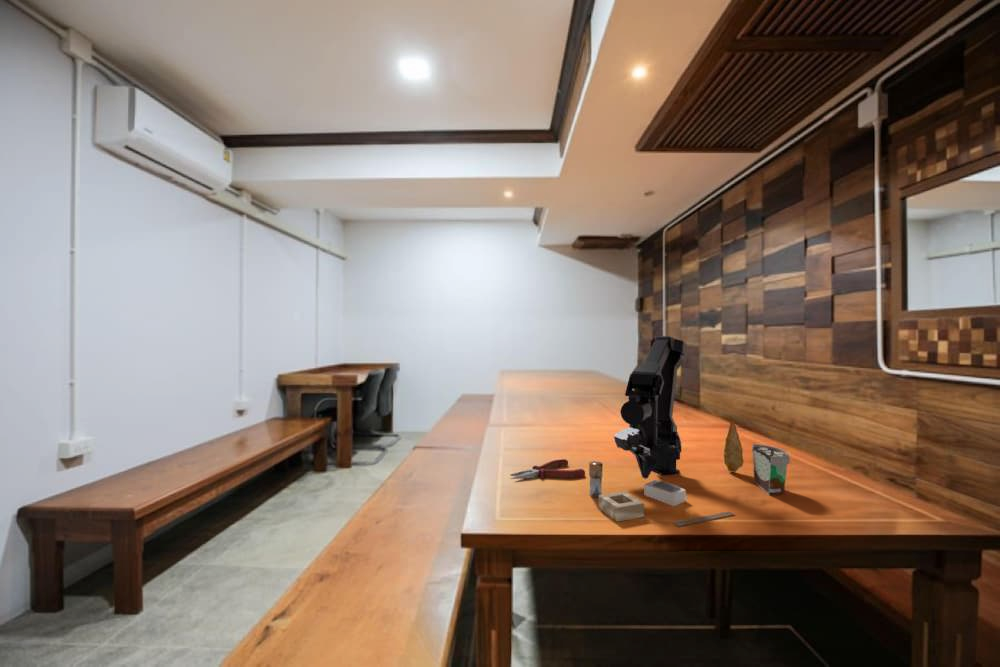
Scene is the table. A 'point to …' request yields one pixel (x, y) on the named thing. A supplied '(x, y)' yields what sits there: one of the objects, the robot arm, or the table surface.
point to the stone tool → (733, 449)
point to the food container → (770, 468)
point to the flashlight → (595, 478)
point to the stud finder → (665, 492)
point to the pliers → (550, 471)
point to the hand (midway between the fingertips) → (645, 478)
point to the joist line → (703, 519)
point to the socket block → (621, 506)
